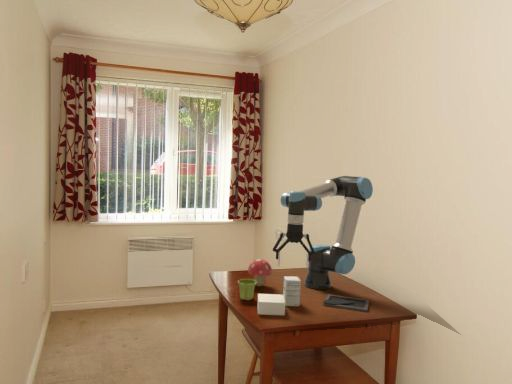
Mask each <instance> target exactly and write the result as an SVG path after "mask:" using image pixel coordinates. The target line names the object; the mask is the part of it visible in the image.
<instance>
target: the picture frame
mask: <svg viewBox="0 0 512 384" xmlns="http://www.w3.org/2000/svg"><path fill="white" fill-rule="evenodd" d="M322 305H323V306H325V307H331V308H338V309H346V310H351V311H359V312H365V313H368V311H369V305H370V300H369V299H364V298H358V297H350V296H343V295H342V296H341V295H337V294H329V293H327V295H326V297H325V298H324V301H323V302H322Z"/></svg>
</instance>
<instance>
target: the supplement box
mask: <svg viewBox="0 0 512 384" xmlns="http://www.w3.org/2000/svg"><path fill="white" fill-rule="evenodd" d="M301 286H302V280H301V279H300V277H299V276H292V275H291V276H289V275H288V276H285V275H284V276H283V287H282V289H283V290H282V295H283V296H284V300H285V307H300V305H301V304H300V303H301V302H300V301H301Z"/></svg>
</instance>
